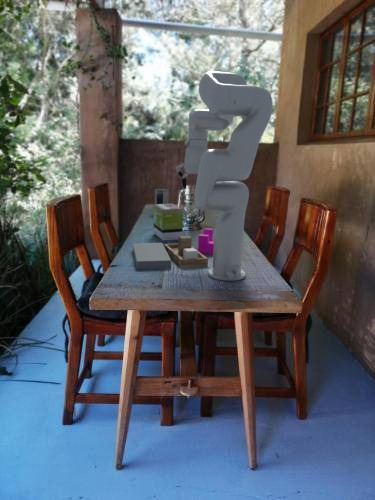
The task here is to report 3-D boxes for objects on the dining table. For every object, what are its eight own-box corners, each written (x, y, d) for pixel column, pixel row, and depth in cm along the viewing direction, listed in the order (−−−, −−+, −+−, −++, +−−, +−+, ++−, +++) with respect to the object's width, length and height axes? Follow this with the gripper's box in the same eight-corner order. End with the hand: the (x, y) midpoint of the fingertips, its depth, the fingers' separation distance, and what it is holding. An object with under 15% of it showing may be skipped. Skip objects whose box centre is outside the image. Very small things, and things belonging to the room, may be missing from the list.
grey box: (197, 261, 147) (197, 250, 146) (187, 262, 145) (187, 251, 144) (193, 258, 151) (193, 248, 150) (183, 259, 149) (183, 248, 148)
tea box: (152, 233, 196) (152, 203, 192) (172, 232, 200) (172, 203, 196) (162, 240, 183) (162, 208, 179) (182, 239, 186) (183, 207, 182)
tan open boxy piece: (207, 267, 146) (208, 243, 144) (181, 269, 143) (182, 245, 141) (186, 251, 168) (187, 229, 166) (163, 252, 165) (164, 230, 163)
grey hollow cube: (153, 211, 258) (153, 188, 254) (177, 211, 261) (178, 188, 257) (155, 215, 244) (156, 191, 241) (181, 215, 247) (181, 191, 243)
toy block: (213, 254, 163) (213, 236, 161) (197, 253, 164) (198, 235, 162) (217, 246, 177) (218, 229, 175) (203, 244, 178) (204, 228, 176)
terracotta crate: (64, 405, 174) (64, 413, 175) (65, 410, 171) (66, 418, 172) (73, 403, 176) (74, 411, 177) (75, 408, 173) (75, 416, 174)
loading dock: (171, 268, 143) (171, 260, 142) (137, 269, 140) (137, 261, 140) (162, 249, 167) (162, 242, 167) (133, 250, 165) (132, 243, 164)
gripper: (177, 144, 153) (176, 189, 157) (221, 145, 156) (219, 189, 160) (174, 144, 160) (174, 187, 164) (217, 145, 163) (215, 187, 167)
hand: (196, 188), depth 162 cm, fingers open, 9 cm apart
